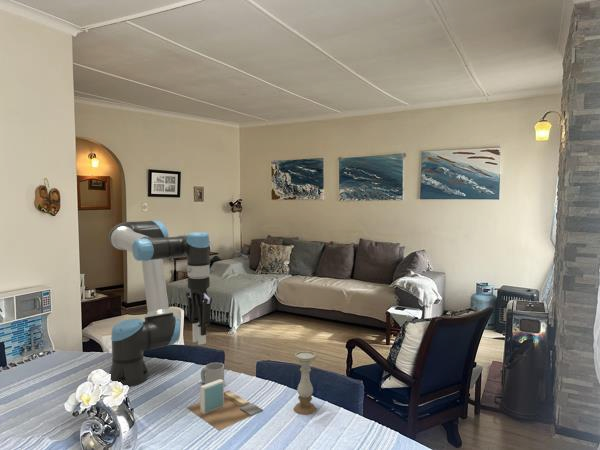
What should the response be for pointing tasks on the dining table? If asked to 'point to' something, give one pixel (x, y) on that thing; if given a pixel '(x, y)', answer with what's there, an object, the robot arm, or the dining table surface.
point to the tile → (212, 396)
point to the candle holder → (305, 384)
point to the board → (221, 414)
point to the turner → (242, 403)
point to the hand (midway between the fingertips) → (199, 342)
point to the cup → (212, 372)
